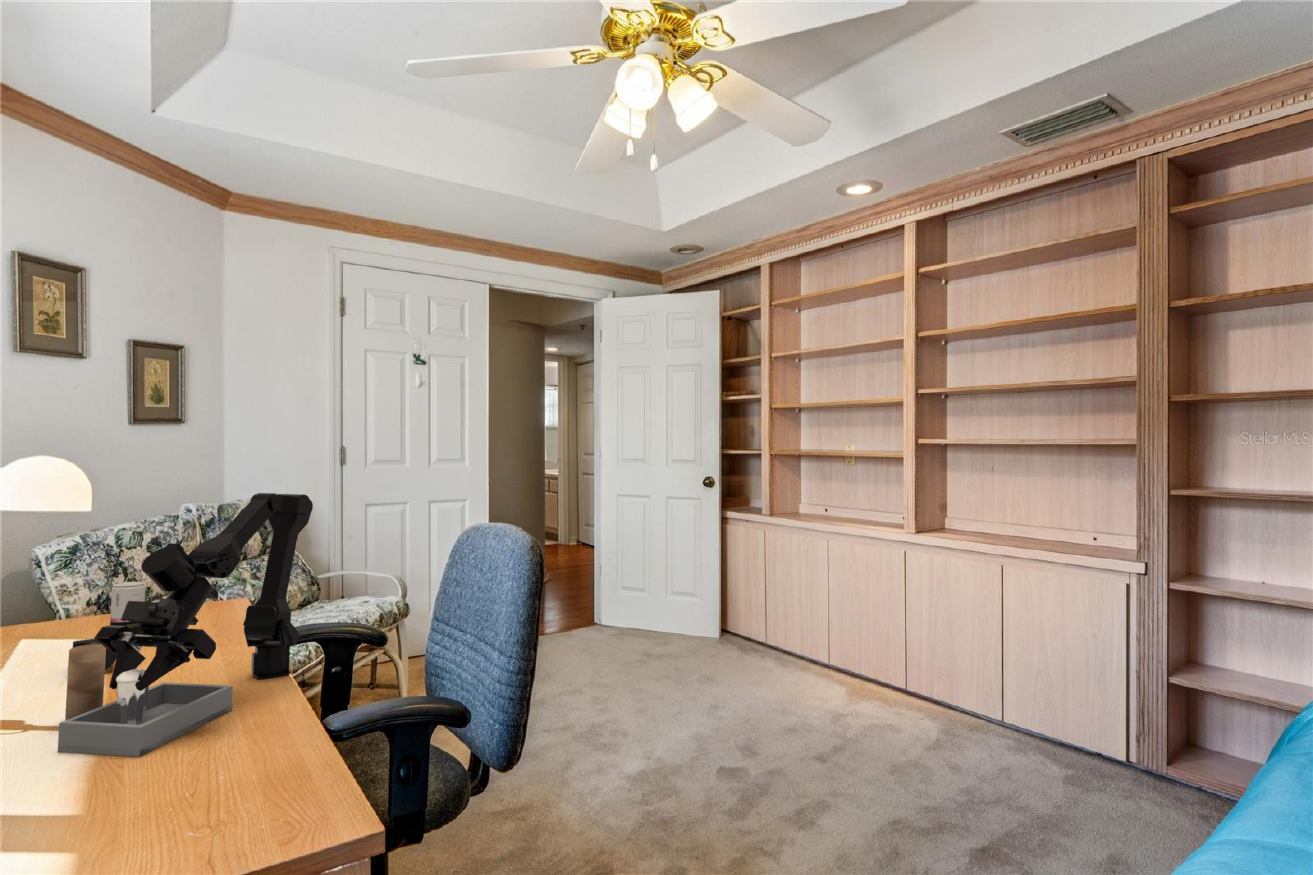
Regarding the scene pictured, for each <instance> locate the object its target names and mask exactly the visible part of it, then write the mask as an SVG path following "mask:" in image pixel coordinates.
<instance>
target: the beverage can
mask: <svg viewBox="0 0 1313 875" xmlns="http://www.w3.org/2000/svg"><path fill="white" fill-rule="evenodd" d="M145 596H146V585H145V582H144V581H123V582H118V583H114V584H112V588H111V603H110V619H109V620H110V622H109V625H115V626H127V627H128V628H129V629H131V630H132V631H133V632H134V633H135V634H140V635H142V632H143V631H142V630H138V629H137V628H136V627H135V626H136V624H137V623H135V622H131V621H127V620H126V621H122V620H121V617H122V615H123V612H124V610H125V607H126V605H127V602H128V601H144V602H146V600H145Z"/></svg>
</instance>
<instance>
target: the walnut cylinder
mask: <svg viewBox="0 0 1313 875" xmlns="http://www.w3.org/2000/svg"><path fill="white" fill-rule="evenodd" d="M105 658H106V648H105V647H104V646H103V645H102V644H92V645H84V646H79V647H75V648H73V647H72V648H70V649H68V661H67V662H68V663H67V664H68V665H67V677H66V678H67V679H66V682H67V683H66V700H65V715H64V716H65V717H64V721H65V720H68V719H70V718H73V717H76V716H78V715H81V714H83V713H86V712H88V711H91V710H94V709H96V708H99V707H101V706H104V693H105V677H106V676H105V675H106V671H105Z"/></svg>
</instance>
